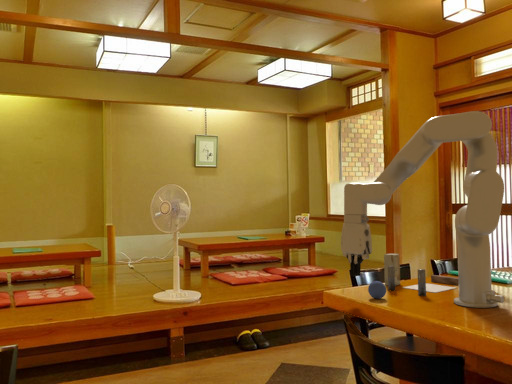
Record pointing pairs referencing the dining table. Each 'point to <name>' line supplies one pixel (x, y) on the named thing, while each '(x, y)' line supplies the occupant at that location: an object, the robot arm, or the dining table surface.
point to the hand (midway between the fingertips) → (355, 275)
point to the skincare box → (392, 261)
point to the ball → (377, 289)
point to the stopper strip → (444, 279)
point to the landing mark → (432, 288)
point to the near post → (421, 282)
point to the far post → (391, 278)
